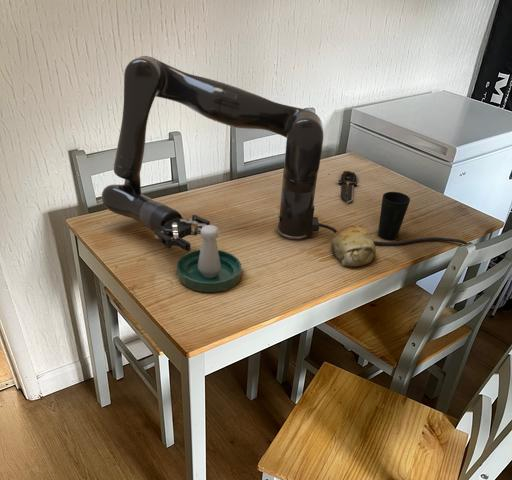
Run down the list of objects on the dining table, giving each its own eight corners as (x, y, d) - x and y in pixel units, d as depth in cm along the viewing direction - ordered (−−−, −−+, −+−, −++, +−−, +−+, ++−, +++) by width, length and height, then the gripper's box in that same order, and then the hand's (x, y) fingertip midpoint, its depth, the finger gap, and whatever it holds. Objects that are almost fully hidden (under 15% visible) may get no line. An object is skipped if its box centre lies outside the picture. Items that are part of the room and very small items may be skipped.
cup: (384, 226, 163) (393, 189, 155) (405, 236, 159) (415, 198, 151) (369, 234, 159) (377, 196, 151) (390, 244, 155) (400, 206, 147)
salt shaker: (217, 281, 134) (218, 235, 125) (195, 278, 134) (194, 231, 126) (223, 269, 138) (224, 224, 130) (201, 266, 139) (201, 220, 130)
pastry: (340, 238, 156) (345, 213, 150) (381, 251, 151) (387, 225, 146) (320, 259, 146) (324, 232, 141) (363, 273, 142) (369, 246, 136)
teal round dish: (240, 259, 143) (240, 249, 141) (241, 294, 131) (242, 283, 129) (179, 258, 142) (179, 248, 140) (175, 292, 130) (175, 282, 128)
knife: (351, 205, 173) (351, 201, 172) (331, 202, 174) (331, 198, 173) (359, 176, 192) (360, 172, 191) (341, 173, 193) (342, 169, 192)
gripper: (136, 213, 134) (180, 237, 126) (180, 197, 142) (223, 219, 134) (139, 240, 138) (181, 265, 130) (181, 223, 147) (223, 245, 139)
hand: (202, 241), depth 132 cm, fingers open, 8 cm apart
